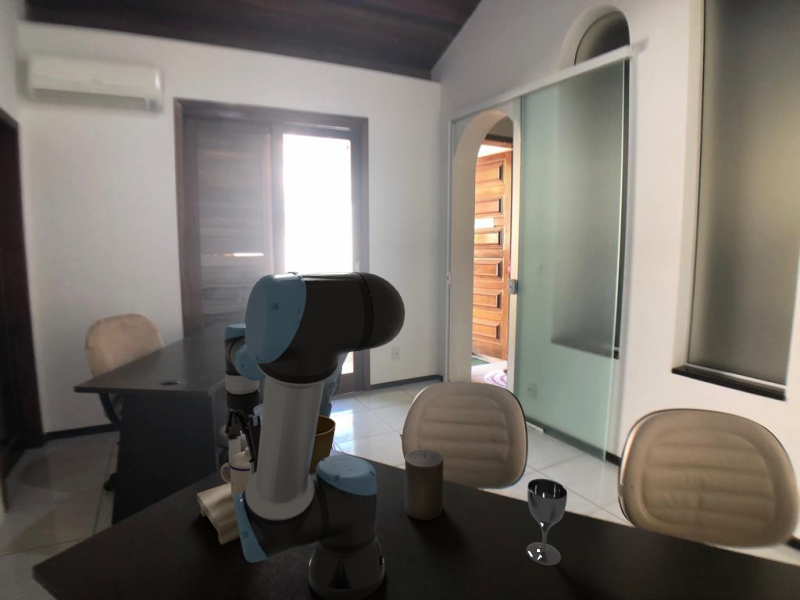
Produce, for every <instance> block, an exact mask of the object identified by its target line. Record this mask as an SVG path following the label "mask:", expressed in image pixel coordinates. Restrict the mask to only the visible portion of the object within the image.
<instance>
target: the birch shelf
mask: <svg viewBox="0 0 800 600" xmlns="http://www.w3.org/2000/svg"><path fill="white" fill-rule="evenodd" d="M196 502H197V503H198V504H199V506H200V507H199V510H200V514H201V516H202V517H204V518H205V517H207V518H208V519H209V521H210V522H211V524H212V526H213V527H214V529H216V532H217V539H218V542H219V544H220V545H224V544H226V543H229V542H232V541H234V540H237V539H239V538H240V535H239V530H238V525H237V520H236V514H235V508H234V501H233V499H232V497H231V483H228V482H226V483H224V484H222V485H219V486H216V487H212V488H209V489H207V490H203V491H200V492H198V493H196Z"/></svg>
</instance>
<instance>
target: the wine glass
mask: <svg viewBox="0 0 800 600" xmlns="http://www.w3.org/2000/svg"><path fill="white" fill-rule="evenodd" d="M526 494H527V504H528V509H529V512H530V514H531V516H532V517H533V518H534V520H536V522H537V523H538V525H539V526H540V529H541V536H542V538H541V540H542V542H540V541H538V542H536V541H535V542H532V543H529V544H528V545H527V547H526V549H525V550H526V554H527V556H528V558H530V559H531V560H532V561H534V562H535V563H537V564H538V565H543V566H550V567H551V566H555V565H558V564H559V563H560V562H561V559H562V556H561V553H560V552H559V550H558V549H556V548H555V546H552V545H551V544H549V543H547V538H548V533H549V530H550V529H551V527H553V526H554V525H555V524H557V523H559V522H560V521H561V520H562V518H563V517H564V514H565V510H566V506H567V501H568V491H567V488H566V487H565V486H564V485H562V484H561V483H560V482H559V481H555V480H552V479H548V478H535V479H532V480H530V481H529V482H528V483H527V493H526Z"/></svg>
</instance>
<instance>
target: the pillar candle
mask: <svg viewBox="0 0 800 600" xmlns="http://www.w3.org/2000/svg"><path fill="white" fill-rule="evenodd" d="M443 486H444V457H443V455H442V454H441V453H440V452H438V451H435V450H432V449H427V448H425V449H424V448H420V449H413V450H411V451H409V452H407V453H406V454H405V456H404V511H405V513H406V515H408V516H409V517H411V518H413V519H415V520H421V521H432V520H435V519H437V518H439V517H440V516H441V515H442V514H443V503H444V502H443V501H444V499H443V498H444V497H443V496H444V494H443V493H444V487H443Z"/></svg>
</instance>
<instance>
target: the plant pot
mask: <svg viewBox="0 0 800 600" xmlns="http://www.w3.org/2000/svg"><path fill="white" fill-rule="evenodd" d="M336 426H337V424H336V421H335V420H334V419H332V418H331V417H328V416H325V415H319V416H318V422H317V428H316V433H315V439H314V445H313V451H312V457H311V463H310V469H309V474H313V473H316V467H317V465H318V463H319V462H320V461H322V459H324V458H326V457H329V456H330V455H331V451H332V447H333V442H334V439H335V438H334V437H335V433H336Z"/></svg>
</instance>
